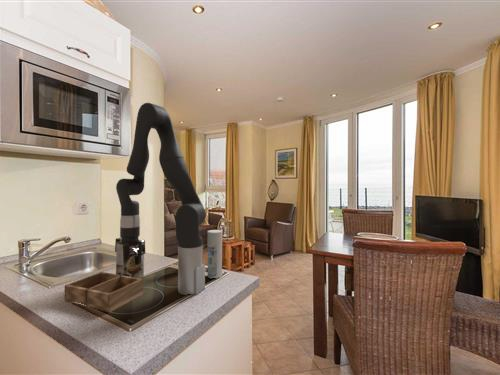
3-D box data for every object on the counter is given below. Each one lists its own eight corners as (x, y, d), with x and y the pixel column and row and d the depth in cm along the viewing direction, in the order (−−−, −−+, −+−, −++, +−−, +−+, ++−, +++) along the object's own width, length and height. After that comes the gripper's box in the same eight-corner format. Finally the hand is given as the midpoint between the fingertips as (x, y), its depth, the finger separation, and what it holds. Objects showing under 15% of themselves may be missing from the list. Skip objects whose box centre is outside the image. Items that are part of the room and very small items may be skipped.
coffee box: (124, 284, 98) (124, 244, 98) (115, 281, 101) (115, 242, 101) (144, 277, 106) (144, 240, 106) (135, 274, 109) (135, 238, 109)
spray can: (204, 276, 107) (204, 231, 107) (215, 272, 112) (215, 229, 112) (214, 280, 103) (214, 233, 103) (225, 275, 108) (225, 231, 108)
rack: (143, 293, 90) (143, 279, 90) (109, 312, 77) (109, 295, 77) (101, 285, 97) (101, 271, 97) (64, 301, 84) (64, 285, 84)
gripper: (149, 225, 104) (149, 262, 105) (124, 223, 109) (124, 259, 109) (136, 228, 97) (136, 268, 98) (109, 225, 102) (109, 264, 102)
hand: (129, 263), depth 104 cm, fingers open, 8 cm apart
